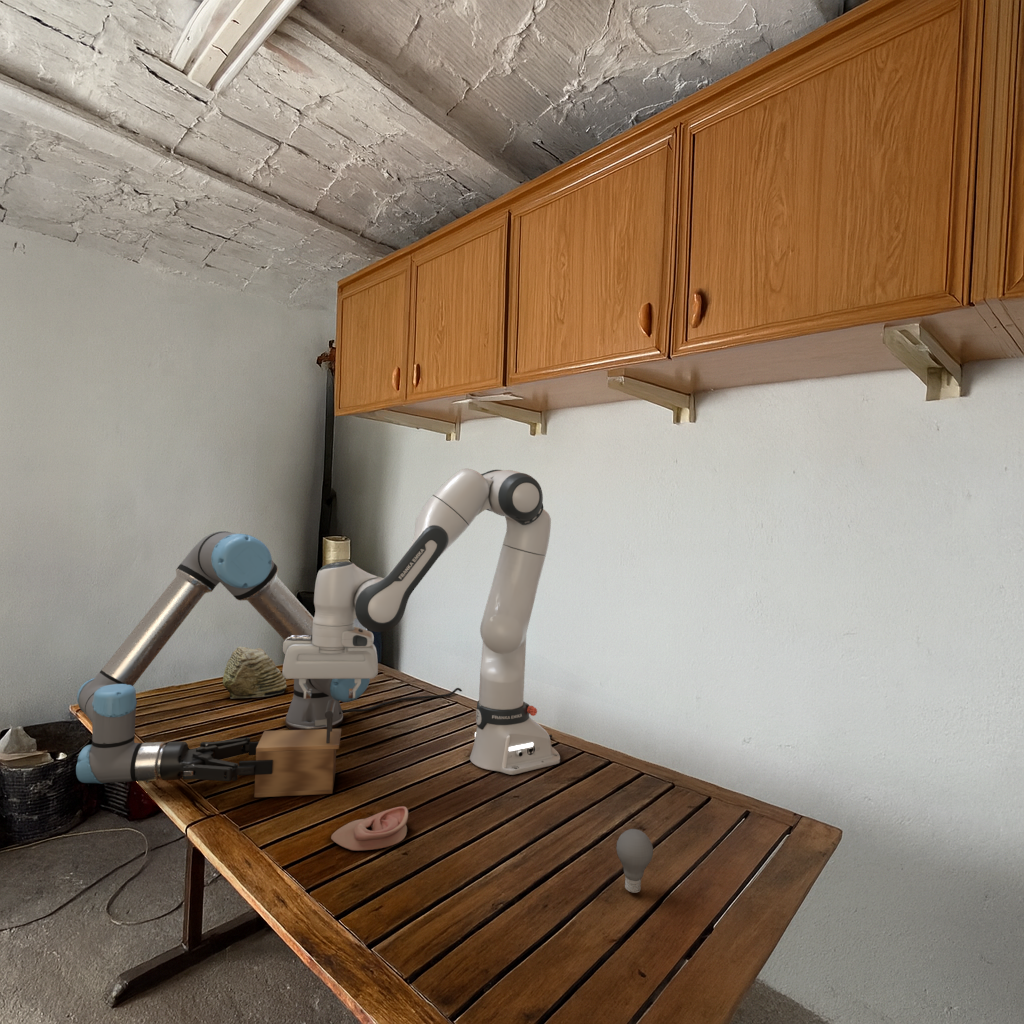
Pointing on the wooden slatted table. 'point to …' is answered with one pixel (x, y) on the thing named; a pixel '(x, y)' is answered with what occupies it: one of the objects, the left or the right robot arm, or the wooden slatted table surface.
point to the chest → (297, 773)
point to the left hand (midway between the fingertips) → (276, 756)
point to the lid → (302, 737)
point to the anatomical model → (374, 830)
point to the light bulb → (634, 857)
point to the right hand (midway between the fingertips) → (329, 697)
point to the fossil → (252, 674)
